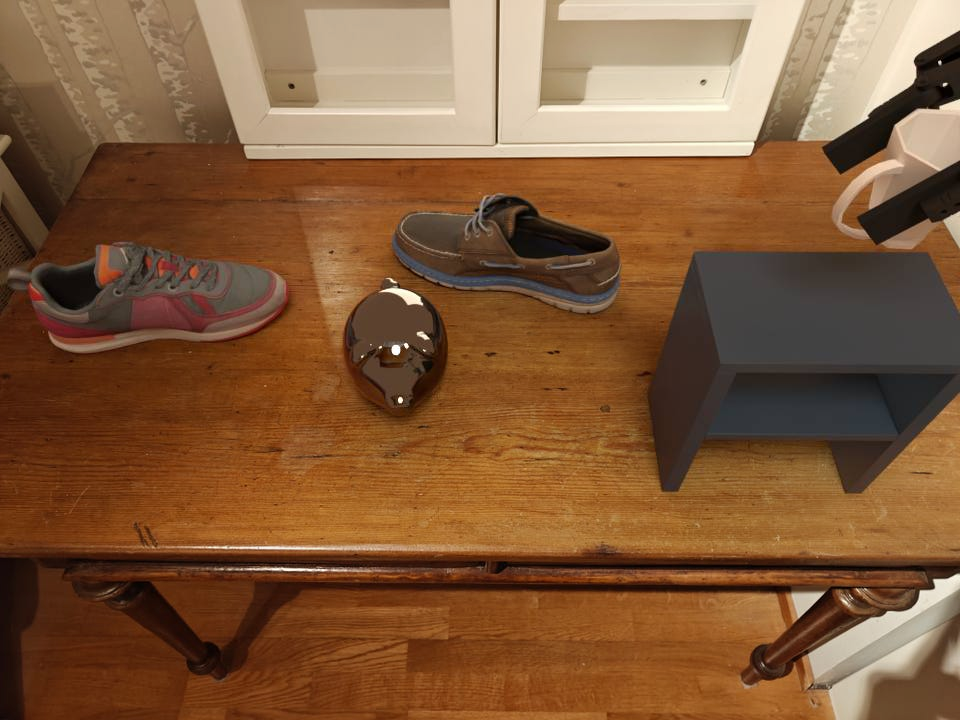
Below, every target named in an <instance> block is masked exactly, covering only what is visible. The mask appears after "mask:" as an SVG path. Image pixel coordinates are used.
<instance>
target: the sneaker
mask: <svg viewBox="0 0 960 720" xmlns="http://www.w3.org/2000/svg"><path fill="white" fill-rule="evenodd" d="M94 249H95V250H94V251H95V256H94V257H92V258H90V259H88V260H86V261H83V262H79V263H76V264H71V265H65V266H62V265H58V264H55V263H52V262H43V263H40V264H38V265H36V266H35V267H33V268H32V271H29V270H26V269H22V268H19V267H10V268H9V269H8V273H7V277H6V285H7V286H8V288H10V289H11V290H14V291H17V292H27V291H28V294H29V297H30V300H31V304H32V307H33V310H34V312H35V315H36V317H37V319H38V321H39V323H40V324H41V325H42V326H43V327H44V328H45V330H47V333H48V337H49V339H50V341H51V343H52V344H53V345H54V346H55V347H57V348H58V349H61V350H63V351H66V352H68V353H71V354H79V355H86V354H88V355H89V354H96V353H102V352H107V351H112V350H115V349H121V348H124V347H125V348H126V347H129V346H133V345H136V344H140V343H144V342H149V341H153V340H162V339H163V340H165V339H175V340H183V341H190V342H197V343H216V342H224V341H230V340H234V339H237V338H238V339H239V338H241V337H244V336H247V335H250V334H252V333H254V332H256V331H258V330H260V329H261V328H262V327H264V326H265V325H267V324H269V323H270V322H272V321H273V320H274V319H275V318H276V317H277V316H278V315H279V314H280V313H281V312H282V311H283V309H284V307H286V304H287V303H288V301H289V299H290V285H289V282H288V281H286V280H285V279H284V278H283V277H281V276H280V275H279V274H277V272H275V271H273V270H270V269H268V268H265V267H262V266H259V265H254V264H245V263H237V262H233V261H228V260H212V259H199V258H197V259H191V258H189V257H186V256H184V255H182V254H175V253H171V251H170V250H167V249H165V250H163V249H160V248H154V247H151V246H150V245H149V246H148V245H147V246H143V245H141V244H138V242H137V241H134V240H131V241H129V242H128V241H116V242H115V241H113V242H112V243H111V244H109V245H108V244H102V243H101V244H96V245H95V248H94Z"/></svg>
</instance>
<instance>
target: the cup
mask: <svg viewBox="0 0 960 720" xmlns="http://www.w3.org/2000/svg"><path fill="white" fill-rule="evenodd" d="M959 160H960V110H955V109H940V110H936V109H916V110H915V111H913V112H912V113H911V114H909V115H908V116H907V117H905V118H904V119H902V120H901V121H900V122H898V123H897V124H895V126H894V128H893V131H892V134H891V136H890V139H889V142H888V145H887V148H885V151H884V154H883V157H882V160H881V162H878V163H876V164H874V165H872V166H870V167H868V168H866V169H865V170H864V171H862V172H861V173H860V174H859V175H858V176H857V177H855V178H854V179H852V180H851V182H850V183H849V184H848V185H847V186H846V188H845V189H844V191H843V192H842V193H841V194H840V196H839V197H838V199H837V200H836V202H835V204H834V205H833V206H832V211H831V215H830V219H831V220H832V222H833V223H834V225H835V226H836V228H837V229H838V230H839V231H840V232H842V233H843V234H844V235H846V236H849V237H851V238H853V239H856V240H862V241H865V240H870V239H871V238H870V237H869V236H868V234H867V233H866V232H865V230H864V229H863V228H862V229H859V228H852V227H850V226H849V225H846V224H845V223H843V221H842V220H843V215H844V213H845V211H846V210H847V208H848V207H849V205H850V204H851V203H852V201H853V200H854V199H855V197H857V195H858V194H859V193H860V192H861V191H862V190H863V189H864V188H866V187H867V186H868V185H869V184H871V183H872V182H873V185H872V189H871V193H870V198H869V203H868V210H870V209H872V208H874V207H876V206H877V205H879V204H881V203H883V202H885V201H887V200H888V199H890V198H892V197H894V196H896V195H897V194H899V193H901V192H903V191H905V190H907V189H908V188H910V187H912V186H914V185H916V184H917V183H919V182H921V181H923V180H925V179H927V178H928V177H930V176H932V175H934V174H936V173H937V172H939V171H941V170H943V169H945V168H947V167H948V166H950V165H952V164H954V163H956V162H957V161H959ZM945 220H946V219H944V220H942V221H939V222H935V223H931V221H930V220H929V218H928V219H927V220H925V221H923V222H921V223H919V224H917V225H915V226H913V227H911V228H909V229H907V230H905V231H903V232H902V233H900V234H898V235H896V236H894V237H892V238H890V239H888V240H886V241H884V242H882V243H880V244H881V245H882V246H884V247H885V248H887V249H899V250H913V249H914V248H915V247H916V246H918V245H919V244H920V243H921V242H922V241H924V240H925V238H926V237H927V236H928V234H929V233H930V232H931V231H932V230H934V229H935V228H936V227H938V226H939V225H940V224H941V223H942V222H944V221H945Z"/></svg>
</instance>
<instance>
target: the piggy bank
mask: <svg viewBox="0 0 960 720" xmlns="http://www.w3.org/2000/svg"><path fill="white" fill-rule="evenodd" d="M447 333H448V332H447V329H446V326H445V323H444V320H443V317H442V316H441V314H440V312H439V311H438V309H437V308H436V307H435V305H434V304H433V303H432V302H431V300H429V299H428V298H426V296H424V295H423V294H420V293H419V292H418V291H415V290H413V289H409V288H406V287H401V283H400V282H398V281H396V280H394V279H393V278H392V277H385V278H384V279H382V280H381V283H380V286H379V289H376V290H373V291H371V292H369V293H368V294H366V295H365V296H364V297H362V298H361V299H360V300H359V301H358V302H357V303H356V304H355V305H354V307H353V308H352V309H351V311H350V312H349V314H348V316H347V318H346V320H345V324H344V326H343V331H342V339H341V340H342V341H341V349H342V357H343V358H342V359H343V362H344V366H345V369H346V373H347V374H348V377H349V379H350V380H351V382H352V383H353V385H354V387H355V388H356V389H357V391H359V393H360V394H362V395H363V397H365V398H366V399H368V400H369V401H370V402H372V403H374V404H376V405H378V406H379V407H382V408H384V409H385V410H387V411H388V413H389V414H390V415H392V416H396V417H397V416H405V415H409V414H410V413H412V412H413V410H414V408H415V407H416V406H418V405H419V404H420V403H421V402H423V401H424V400H426V399H428V398H429V397H431V395H432V393H433V392H434V391H435V389H436V388H437V387H438V385H439V383H440V382H441V380H442V378H443V376H444V373H445V372H446V368H447V365H448V364H447V363H448V359H449V358H448V356H449V338H448V334H447Z"/></svg>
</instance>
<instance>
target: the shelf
mask: <svg viewBox="0 0 960 720" xmlns="http://www.w3.org/2000/svg"><path fill="white" fill-rule="evenodd" d="M691 256H692V257H691V259H690V262H689V265H688V269H687V272H686V275H685V277H684V280H683V283H682V287H681V290H680V292H679V296H678V299H677V301H676V304H675V309H674V311H673V313H672V317H671V320H670V323H669V325H668V326H669V327H668V329H667V332H666V335H665V338H664V342H663V344H662V347H661V350H660V353H659V355H658V356H659V357H658V359H657V362H656V366H655V368H654V372H653V374H652V377H651V380H650V384H649V387H648V389H647V393H646V396H647V402H648V408H649V414H650V421H651V428H652V434H653V441H654V446H655V453H656V459H657V461H656V462H657V464H658V465H657V466H658V472H659V473H658V474H659V479H660V485H661V492H662V493H665V492H666V493H678V492H679V491H680V489H681V487H682V484H683V482H684V481H685V478H686V477H687V475H688V472H689V470H690V469H691V466H692V464H693V463H694V460H695V458H696V457H697V454H698V451H699V450H700V448H701V446H702V444H703V443H704V440H707V441H708V440H714V441H715V440H717V441H719V440H720V441H721V440H724V441H725V440H728V441H729V440H730V441H734V440H735V441H828V443H829V446H830V450H831V453H832V456H833V459H834V462H835V465H836V468H837V471H838V474H839V478H840V480H841V483H842V487H843V490H844V493H845V494H862V493H863V492H865V491H866V489H867V488H868V487H869V486H870V485H871V484H872V483H873V482H874V481H875V480H876V479H877V478H878V477H879V476H880V475H881V474H882V473H883V472H884V471H885V470H886V469H887V468H888V467H889V466H890V465H891V464H892V463H893V462H894V461H895V459H897V458H898V457H899V456H900V454H902V453H903V451H904V450H905V449H906V448H908V447H909V445H910V444H912V442H913V441H914V440H915V439H916V438H917V437H918V436H919V435H921V433H922V432H923V431H924V430H926V428H927V427H928V426H929V425H930V424H931V423H932V422H933V421H934V420H935V419H936V418H937V417H938V415H940V414H941V412H943V410H944V409H945V408H946V407H947V406H948V405H950V403H951V402H952V401H953V400H954V399H955V398H956V397H957V396H958V395H959V394H960V311H959V309H958V307H957V305H956V304H955V301H954V299H953V297H952V295H951V293H950V291H949V290H948V287H947V285H946V284H945V282H944V280H943V278H942V276H941V274H940V272H939V270H938V268H937V266H936V264H935V262H934V260H933V259H932V256H931V255H930V253H929V252H928V251H757V250H756V251H755V250H754V251H751V250H750V251H746V250H745V251H742V250H740V251H737V250H736V251H734V250H733V251H732V250H731V251H728V250H727V251H725V250H723V251H722V250H721V251H719V250H716V251H715V250H714V251H713V250H694V251H693V253H692V255H691Z"/></svg>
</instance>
